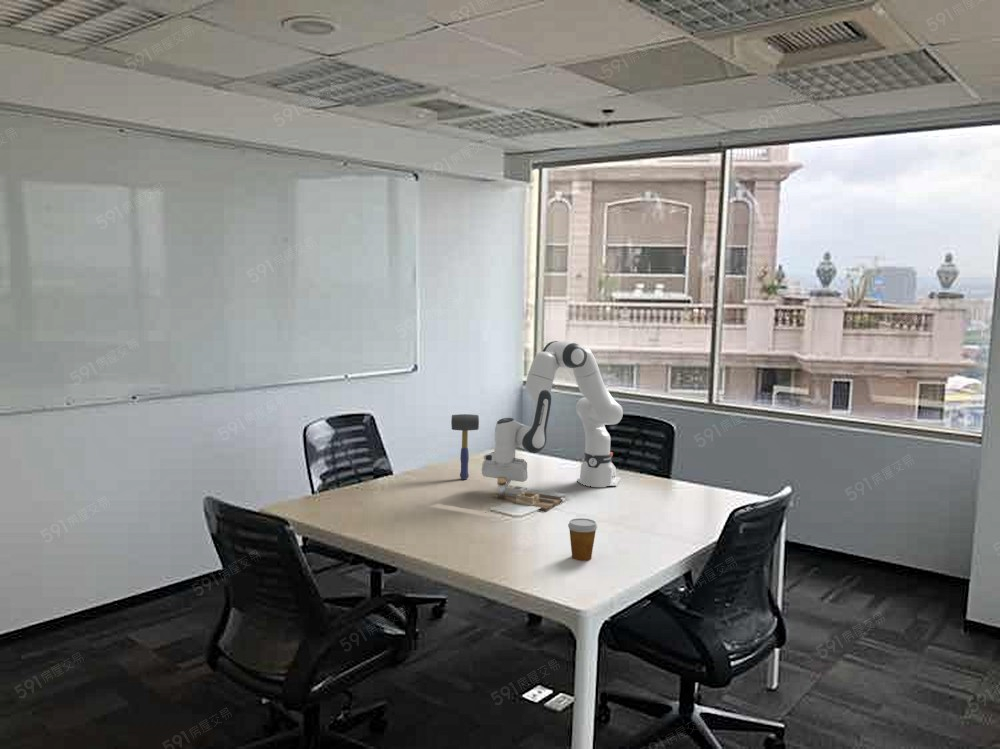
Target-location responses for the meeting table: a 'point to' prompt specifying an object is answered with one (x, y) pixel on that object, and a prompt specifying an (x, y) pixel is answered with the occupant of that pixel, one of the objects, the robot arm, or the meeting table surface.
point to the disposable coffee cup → (582, 538)
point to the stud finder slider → (515, 489)
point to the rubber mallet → (465, 437)
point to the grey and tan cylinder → (501, 487)
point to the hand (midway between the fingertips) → (504, 489)
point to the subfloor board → (544, 502)
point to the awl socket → (527, 498)
